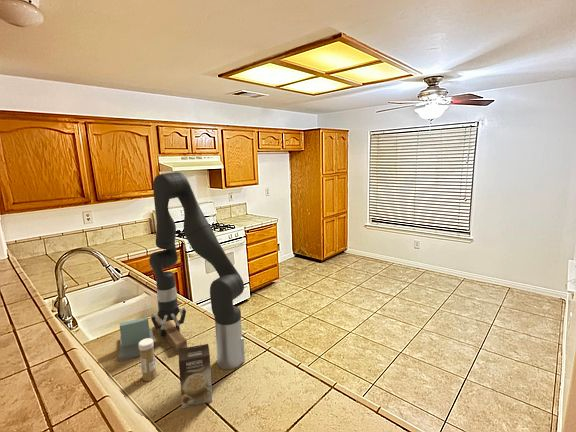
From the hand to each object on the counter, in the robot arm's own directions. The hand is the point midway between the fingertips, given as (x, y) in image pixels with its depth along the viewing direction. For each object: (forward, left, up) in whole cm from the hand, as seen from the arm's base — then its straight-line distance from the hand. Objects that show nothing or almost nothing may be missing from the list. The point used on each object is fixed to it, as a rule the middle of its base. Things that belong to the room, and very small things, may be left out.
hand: (170, 334), depth 126 cm
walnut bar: (0, 0, -1) cm, 1 cm away
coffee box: (-4, +39, -1) cm, 39 cm away
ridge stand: (+13, 0, -1) cm, 13 cm away
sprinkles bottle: (+9, +22, -1) cm, 24 cm away
